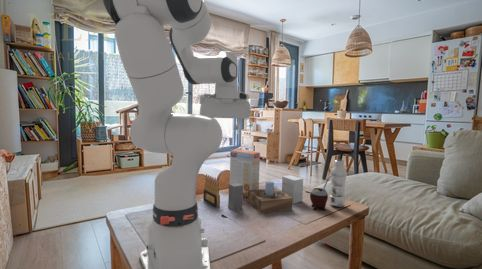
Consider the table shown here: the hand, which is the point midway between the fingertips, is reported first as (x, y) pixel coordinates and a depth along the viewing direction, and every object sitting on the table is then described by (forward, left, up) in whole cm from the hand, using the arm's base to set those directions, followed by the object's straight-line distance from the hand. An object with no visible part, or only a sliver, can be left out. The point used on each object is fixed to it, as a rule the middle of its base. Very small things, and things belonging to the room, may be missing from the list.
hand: (225, 129), depth 105 cm
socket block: (-2, -20, -32) cm, 38 cm away
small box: (+1, -33, -33) cm, 46 cm away
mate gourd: (-11, -39, -33) cm, 52 cm away
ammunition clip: (+7, +3, -33) cm, 33 cm away
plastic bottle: (-11, -48, -32) cm, 59 cm away
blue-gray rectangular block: (-2, -20, -32) cm, 38 cm away
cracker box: (+15, -15, -33) cm, 38 cm away
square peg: (-1, -5, -32) cm, 33 cm away
